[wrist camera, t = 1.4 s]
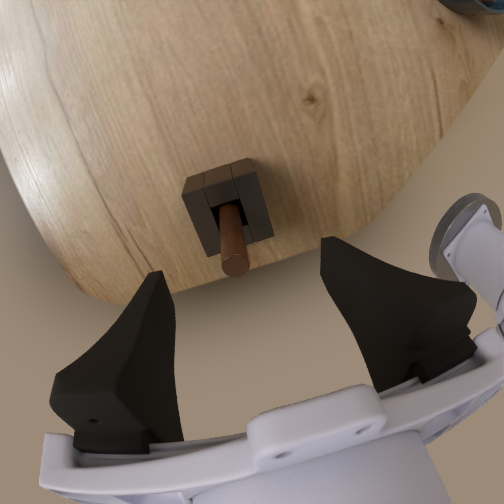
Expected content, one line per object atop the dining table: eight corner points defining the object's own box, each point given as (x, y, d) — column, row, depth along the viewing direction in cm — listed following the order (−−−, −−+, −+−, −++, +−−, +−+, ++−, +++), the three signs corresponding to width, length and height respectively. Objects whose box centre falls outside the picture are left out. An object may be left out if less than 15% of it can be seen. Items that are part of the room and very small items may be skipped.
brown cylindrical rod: (239, 194, 23) (255, 263, 15) (228, 207, 24) (238, 282, 15) (225, 184, 23) (233, 249, 14) (214, 197, 23) (215, 269, 14)
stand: (248, 157, 22) (255, 170, 18) (265, 214, 24) (274, 236, 21) (186, 177, 22) (180, 195, 18) (208, 232, 24) (207, 257, 21)
